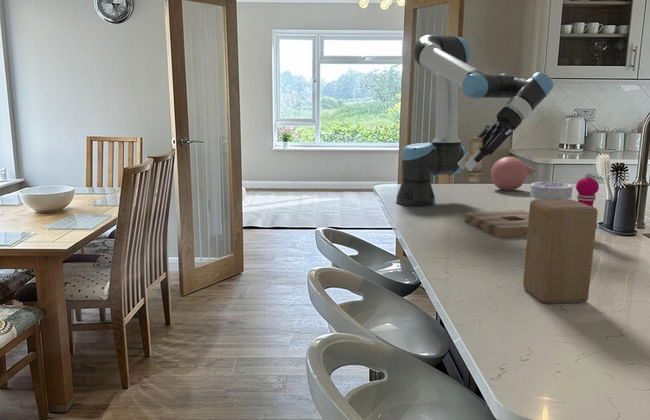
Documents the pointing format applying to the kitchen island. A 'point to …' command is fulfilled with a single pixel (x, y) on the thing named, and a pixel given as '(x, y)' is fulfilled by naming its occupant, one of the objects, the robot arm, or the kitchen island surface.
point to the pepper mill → (587, 190)
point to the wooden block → (559, 250)
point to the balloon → (510, 173)
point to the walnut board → (500, 222)
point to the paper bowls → (551, 190)
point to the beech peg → (472, 149)
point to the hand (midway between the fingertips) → (463, 167)
